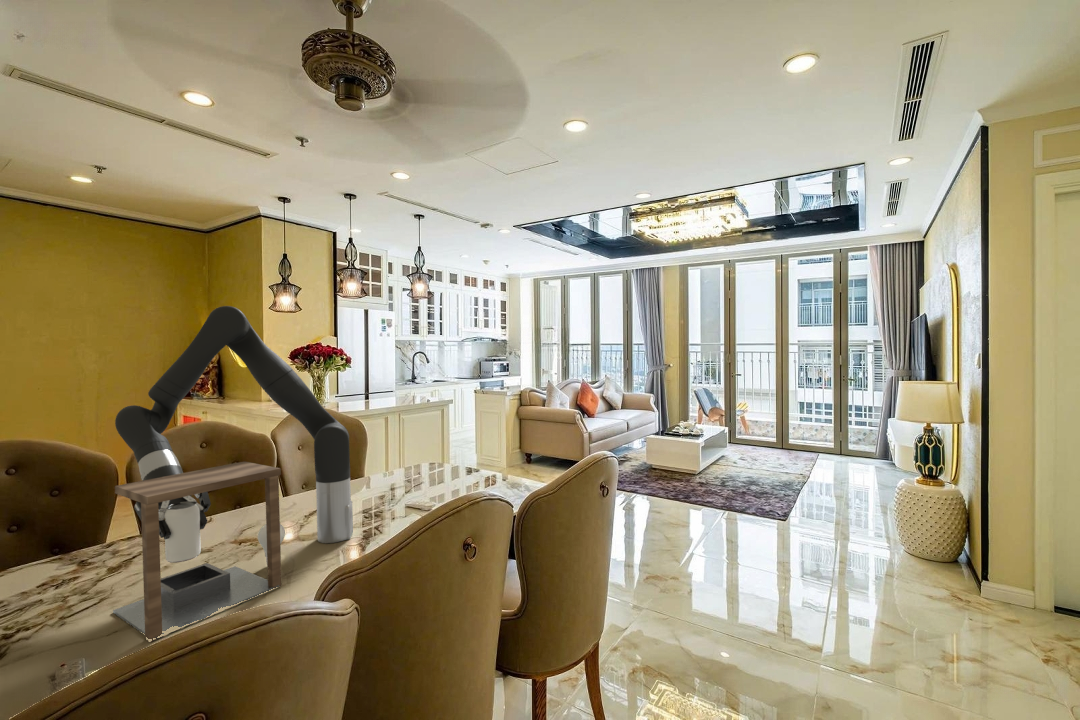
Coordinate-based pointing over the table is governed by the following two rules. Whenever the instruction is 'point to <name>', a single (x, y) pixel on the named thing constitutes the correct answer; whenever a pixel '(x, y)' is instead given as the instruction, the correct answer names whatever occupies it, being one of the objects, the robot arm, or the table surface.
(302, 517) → the table surface
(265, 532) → the lightbulb
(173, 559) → the can
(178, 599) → the socket
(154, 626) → the wooden arch stand
